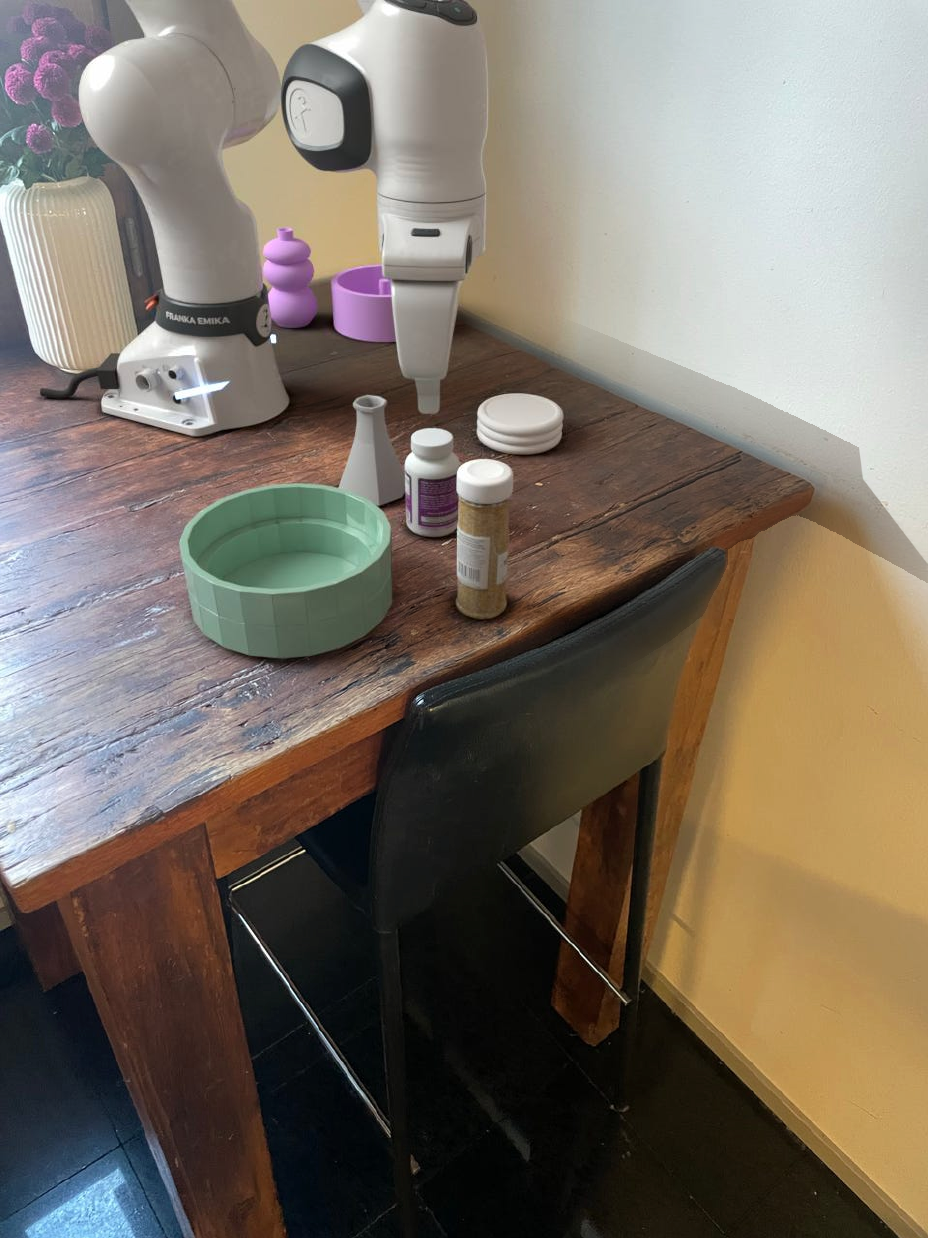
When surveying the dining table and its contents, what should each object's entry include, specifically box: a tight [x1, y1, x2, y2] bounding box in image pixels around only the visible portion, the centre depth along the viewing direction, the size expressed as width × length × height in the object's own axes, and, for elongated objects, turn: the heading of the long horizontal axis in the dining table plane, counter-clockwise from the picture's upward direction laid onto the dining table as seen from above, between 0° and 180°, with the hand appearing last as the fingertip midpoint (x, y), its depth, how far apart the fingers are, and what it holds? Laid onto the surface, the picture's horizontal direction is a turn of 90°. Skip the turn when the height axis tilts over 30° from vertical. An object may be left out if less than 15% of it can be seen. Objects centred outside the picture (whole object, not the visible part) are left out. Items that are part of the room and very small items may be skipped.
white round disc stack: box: [476, 392, 564, 456], centre depth 109 cm, size 10×10×4 cm
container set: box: [262, 227, 396, 343], centre depth 135 cm, size 25×15×13 cm, turn 91°
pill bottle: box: [404, 427, 461, 538], centre depth 91 cm, size 5×5×10 cm
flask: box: [338, 394, 405, 507], centre depth 96 cm, size 7×7×10 cm
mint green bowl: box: [178, 482, 394, 659], centre depth 81 cm, size 17×18×7 cm
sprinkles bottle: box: [455, 458, 514, 620], centre depth 79 cm, size 5×5×14 cm
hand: (433, 388), depth 85 cm, fingers open, 8 cm apart
